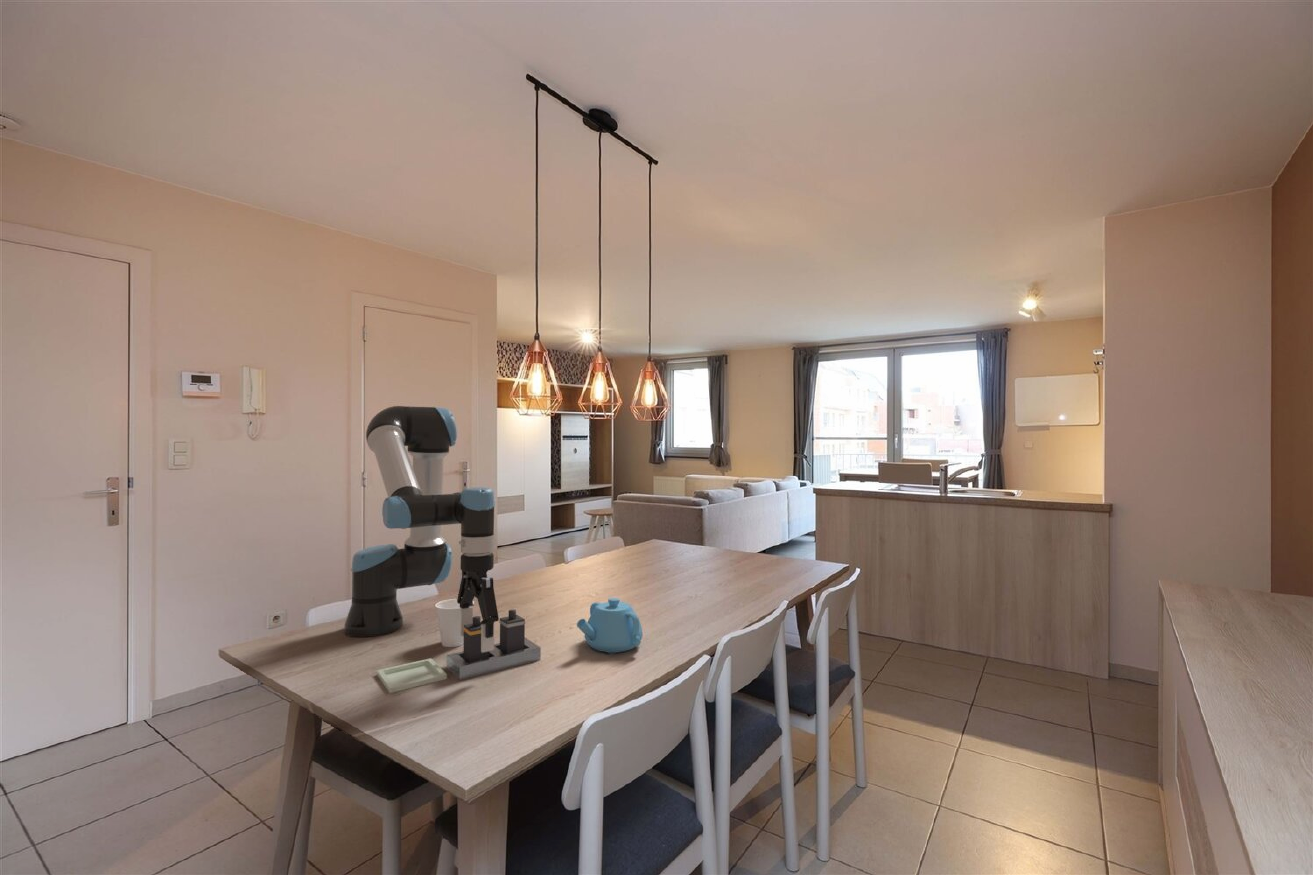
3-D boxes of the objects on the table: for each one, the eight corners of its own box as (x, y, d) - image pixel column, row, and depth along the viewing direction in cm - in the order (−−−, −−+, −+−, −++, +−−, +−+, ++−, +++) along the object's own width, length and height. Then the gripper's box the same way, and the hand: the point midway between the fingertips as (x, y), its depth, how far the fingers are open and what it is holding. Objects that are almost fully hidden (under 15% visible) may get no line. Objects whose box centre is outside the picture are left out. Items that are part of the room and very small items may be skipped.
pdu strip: (446, 669, 134) (446, 654, 134) (524, 650, 146) (524, 637, 146) (459, 682, 127) (459, 666, 127) (540, 661, 139) (540, 647, 139)
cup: (461, 652, 145) (461, 609, 145) (426, 649, 147) (426, 607, 147) (480, 639, 154) (481, 599, 154) (447, 636, 156) (448, 597, 156)
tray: (377, 676, 130) (377, 670, 130) (430, 664, 137) (430, 658, 137) (389, 695, 120) (390, 688, 120) (447, 680, 128) (447, 674, 128)
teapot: (660, 648, 149) (660, 600, 149) (603, 670, 134) (603, 617, 134) (609, 630, 162) (610, 586, 163) (553, 648, 148) (553, 600, 148)
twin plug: (499, 658, 140) (499, 609, 140) (516, 654, 143) (517, 606, 143) (506, 664, 136) (507, 614, 136) (524, 659, 139) (525, 611, 139)
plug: (462, 667, 134) (463, 616, 134) (482, 662, 137) (482, 613, 137) (469, 673, 130) (470, 621, 131) (489, 668, 133) (489, 617, 133)
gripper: (444, 546, 141) (443, 631, 141) (481, 564, 122) (480, 662, 122) (473, 543, 146) (473, 625, 146) (514, 559, 127) (513, 654, 126)
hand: (476, 642), depth 134 cm, fingers open, 13 cm apart
